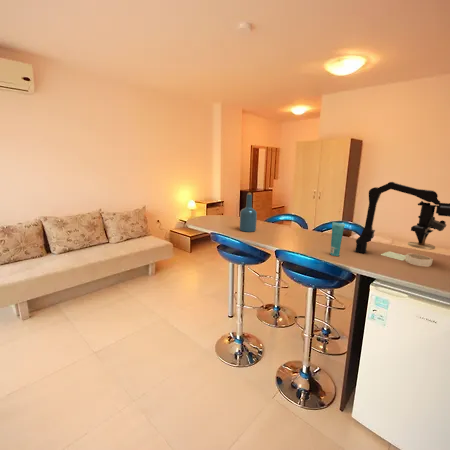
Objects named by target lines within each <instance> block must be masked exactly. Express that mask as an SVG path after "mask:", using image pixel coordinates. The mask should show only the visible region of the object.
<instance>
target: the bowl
mask: <svg viewBox="0 0 450 450" xmlns="http://www.w3.org/2000/svg"><path fill="white" fill-rule="evenodd" d="M405 255H406V257H405V260H404V261H405V262H406V263H407V264H411V265H414V266H418V267H426V268H427V267H431V266H432V265H433V260H434V259H433V258H432V257H430V256H428V255H424V254H420V253H411V252H410V253H406V254H405Z"/></svg>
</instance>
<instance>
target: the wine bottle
mask: <svg viewBox="0 0 450 450" xmlns="http://www.w3.org/2000/svg"><path fill="white" fill-rule="evenodd" d="M245 199H246V204H245V207H244V208H242V209H241V210H240V212H239V230H240V232H241V231H242V232H246V233H250V232H251V233H252V232H255V231H256V230H257V222H258V221H257V220H258V212H257V210H256V209H254V208H253V207H252V205H253V203H252V201H253V194H252V192H247V194H246V198H245Z"/></svg>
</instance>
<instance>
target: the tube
mask: <svg viewBox="0 0 450 450" xmlns="http://www.w3.org/2000/svg"><path fill="white" fill-rule="evenodd" d="M345 227H346V224H345V223H341V222H334V221H332V223H331V237H330V238H331V239H330V252H329V253H330V255H331V256H334V257H339V256H340V253H341V245H342V239H343V234H344V230H345Z"/></svg>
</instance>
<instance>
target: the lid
mask: <svg viewBox="0 0 450 450" xmlns="http://www.w3.org/2000/svg"><path fill="white" fill-rule="evenodd" d="M426 240H427V238H426V237H424V239H423V242H422V244H420V243H419V241H408V242H407V246H409V247H412V248H416V249H421V250H436V246H435V245H433V244H430V243H427V242H426Z"/></svg>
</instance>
